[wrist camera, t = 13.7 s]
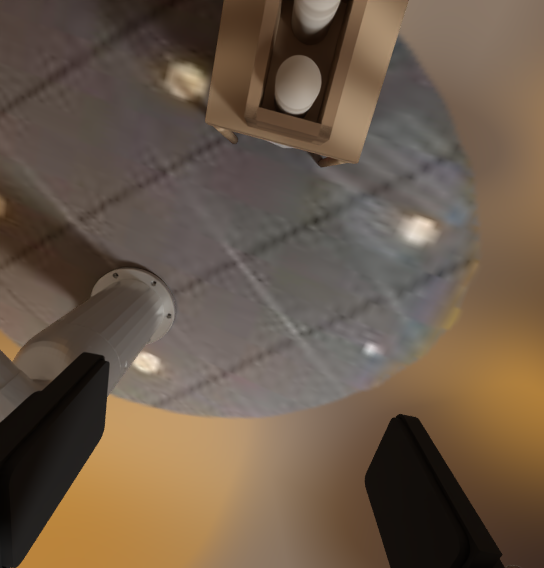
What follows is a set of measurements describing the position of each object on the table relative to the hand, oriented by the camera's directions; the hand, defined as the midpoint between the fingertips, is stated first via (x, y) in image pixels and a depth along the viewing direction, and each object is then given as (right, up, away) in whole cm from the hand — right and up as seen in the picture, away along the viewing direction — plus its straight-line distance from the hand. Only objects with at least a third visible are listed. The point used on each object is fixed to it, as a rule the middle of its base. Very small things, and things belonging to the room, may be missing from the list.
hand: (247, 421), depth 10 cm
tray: (+3, +21, +14) cm, 25 cm away
